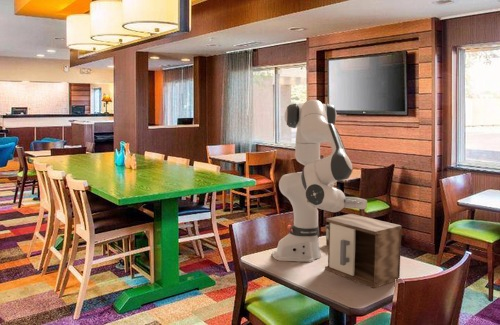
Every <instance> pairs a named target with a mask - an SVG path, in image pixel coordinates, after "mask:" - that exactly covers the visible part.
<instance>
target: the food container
mask: <svg viewBox="0 0 500 325" xmlns="http://www.w3.org/2000/svg"><path fill="white" fill-rule="evenodd" d="M325 238H326V239H325V241H326V242H325V243H326V246H327V247H328V241H329V224H325Z"/></svg>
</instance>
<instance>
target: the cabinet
mask: <svg viewBox="0 0 500 325" xmlns="http://www.w3.org/2000/svg"><path fill="white" fill-rule="evenodd" d="M325 222H326V223H328V225H329V241H328V246H327V248H328V251H327V252H328V255H327V265H326V266H324V270H326V271H329V272H331V273H334V274H336V275H338V276H340V277H343V278H347V279H349V280H352V281H354V282H357V283H359V284H363V285H365V286H367V287H369V288H373V289H375V288H377V287H378V288H379V287H381V286H383V285H387V284H389V283H393V282H395V279H398V278H401V277H400V276H401V274H400V273H401V268H400V267H401V250H402V248H401V245H402V225H400V224H396V223H391V222H388V221H383V220H380V219H375V218H372V217H367V216H362V215H358V214H354V213H349V214H343V215H339V216H334V217H333V216H332V217H328V218H325ZM330 223H333V224H337V225H341V226H344V227H348V228H352V229H356V230H355V269H354V276H352V275H349V274H347V273H344V272H341V271H339V270H336V269H333V268H331V267H329V258H330Z"/></svg>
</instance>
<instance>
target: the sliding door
mask: <svg viewBox="0 0 500 325" xmlns="http://www.w3.org/2000/svg"><path fill="white" fill-rule="evenodd" d="M355 230H356V229H352V228H348V227H344V226H341V225H337V224H333V223H330V258H329V267H331V268H333V269H336V270H339V271H341V272H344V273H347V274H349V275H352V276H354V269H355Z"/></svg>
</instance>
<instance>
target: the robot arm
mask: <svg viewBox="0 0 500 325" xmlns="http://www.w3.org/2000/svg"><path fill="white" fill-rule="evenodd" d="M337 115H338V114H337V110H336V107H335V106H334V105H333V104H330V103H322V102H321V101H320V100H318V99H309V100H306V101H305V102H304V103H291V104H289V105H288V106H286V109H285V111H284V120H285V124H286V126H288V128H291V129H296V133H295V151H294V153H295V154H294V157H295V160H296V161H297V162H298V163H299V164H301V165H303V168H302V171H301V172H291V173H287V174H283V175H282V176H281V177H280V179H279V181H278V187H279V191H280V193H281V194H282V195H283V196H284V197H286V199H287V200H289V202H290V204H291V206H292V209H293V225H292V224H288V225H287V230H289V233H288V234H286V235H285V236H284V237H283V238H281V239H279V241H278V244H277V248H276V249H274V250H273V251H272V254H271V255H272V257H273V259H275V260H276V261H280V262H307V263H308V262H309V263H310V262H311V263H312V262H313V261H314V260H317V259H319V258H321V257H322V254H321V250H320V245H319V236H320V227H319V210H324V211H327V212H329V213H330V212H331V213H338V212H340V211H341V210H343V209H345V208H346V209H356V210H367V206H368V200H367V199H365V198H360V197H356V196H355V197H353V196H346V195H345V193H344V192H343V191H342V190H341V189H339V188H336V187H334V186H335V183H337V182H341V181H344V180H348V179H349V178H350V176H351V175H352V173H353V171H354V168H353V163H352V161H351V159H350V158H349V155H348V153H347V150H346V148H345V145H344V143H343V140H342V137H341V135H340V133H339V131H338V128H336V126H335V125H336V124H335V123H336V121H337V118H338V116H337ZM328 143H329V144H330V148H331V151H332V152H331V153H330V154H329V155H328V156H325V157H323V158H321V144H328ZM318 209H319V210H318Z"/></svg>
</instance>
